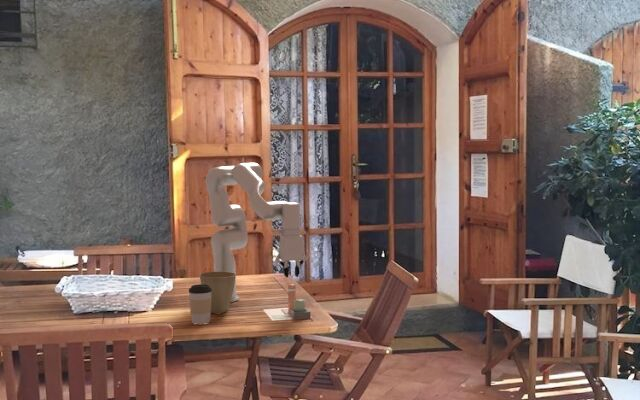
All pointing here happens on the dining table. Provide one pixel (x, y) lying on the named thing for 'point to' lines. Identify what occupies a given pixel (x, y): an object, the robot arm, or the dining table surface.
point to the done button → (299, 305)
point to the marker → (291, 296)
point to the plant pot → (219, 289)
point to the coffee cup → (200, 303)
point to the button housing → (300, 314)
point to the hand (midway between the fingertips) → (291, 276)
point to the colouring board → (278, 314)
